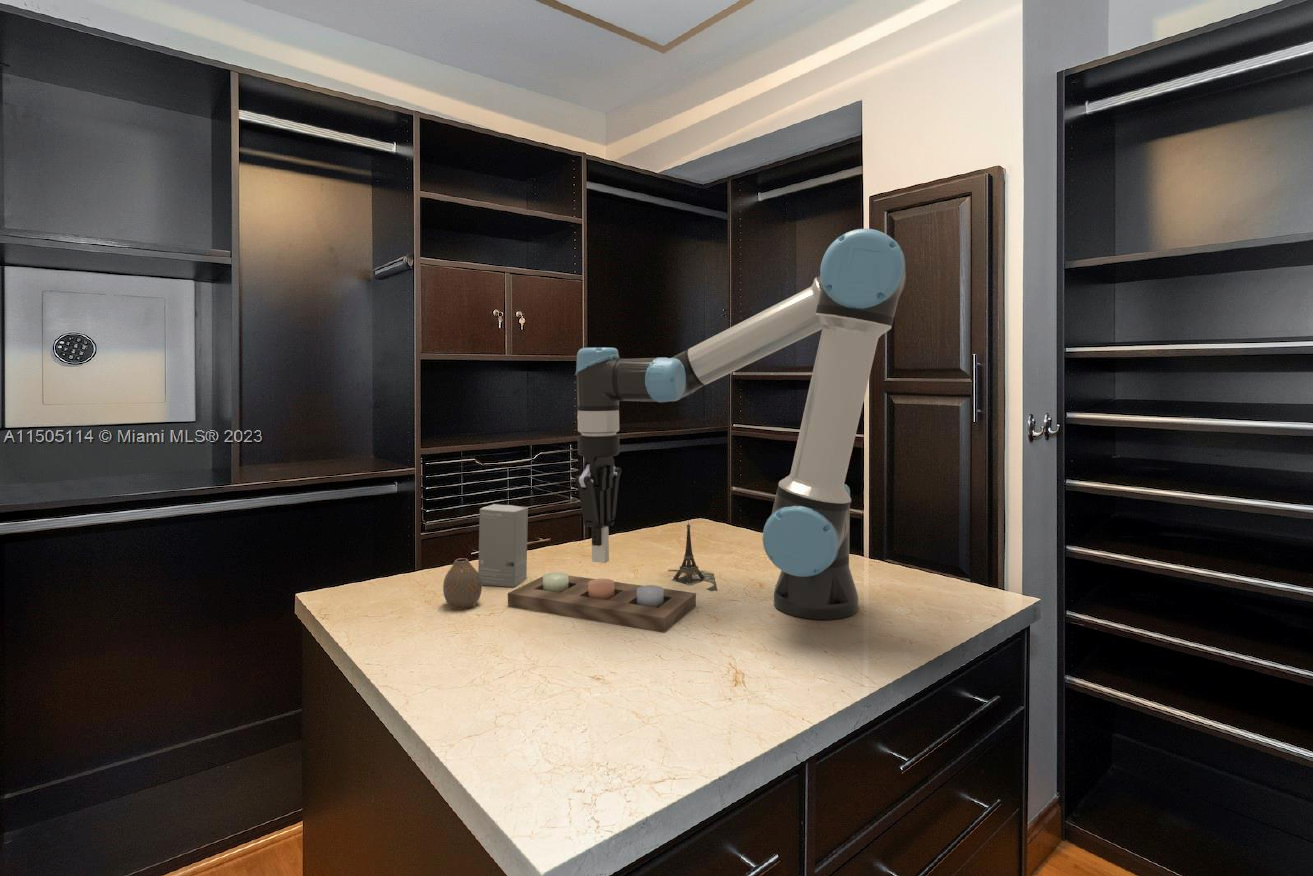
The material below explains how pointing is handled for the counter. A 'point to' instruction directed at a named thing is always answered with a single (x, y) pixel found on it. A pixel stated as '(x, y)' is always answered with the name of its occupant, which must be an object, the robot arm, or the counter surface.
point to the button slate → (650, 596)
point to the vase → (462, 585)
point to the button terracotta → (601, 589)
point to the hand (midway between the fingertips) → (600, 561)
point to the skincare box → (503, 545)
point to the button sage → (555, 582)
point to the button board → (604, 604)
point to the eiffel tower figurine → (692, 569)
